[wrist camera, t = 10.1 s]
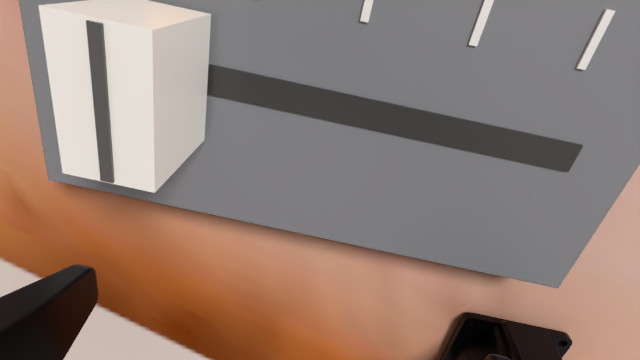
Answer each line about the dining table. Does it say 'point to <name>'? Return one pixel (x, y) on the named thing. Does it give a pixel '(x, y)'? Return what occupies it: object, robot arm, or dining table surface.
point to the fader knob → (126, 87)
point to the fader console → (407, 124)
